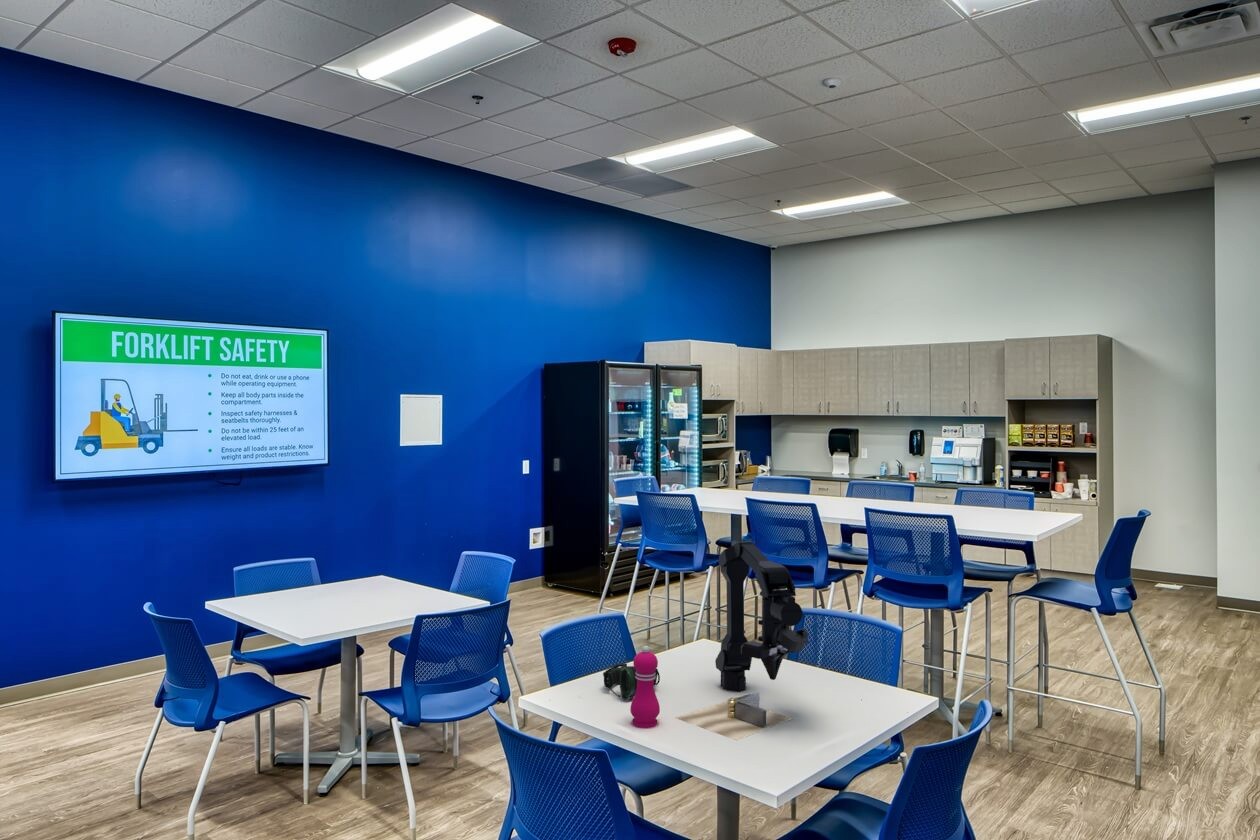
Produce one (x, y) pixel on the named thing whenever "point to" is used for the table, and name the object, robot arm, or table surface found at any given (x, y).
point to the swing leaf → (749, 713)
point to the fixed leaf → (746, 699)
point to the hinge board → (729, 721)
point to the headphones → (624, 679)
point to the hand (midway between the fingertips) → (772, 679)
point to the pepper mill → (645, 691)
